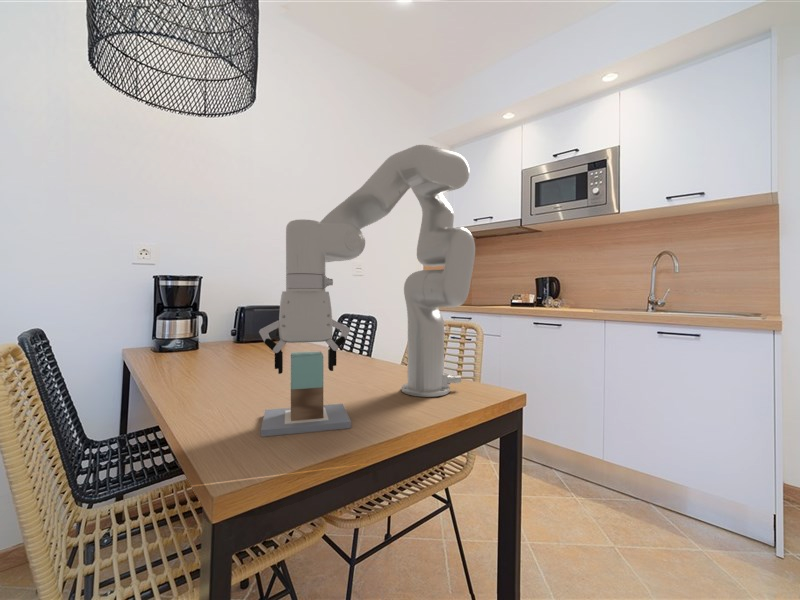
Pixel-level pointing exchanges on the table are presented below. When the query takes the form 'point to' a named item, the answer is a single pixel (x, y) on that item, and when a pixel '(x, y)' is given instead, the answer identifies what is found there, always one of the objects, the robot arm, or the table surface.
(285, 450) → the table surface
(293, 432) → the board
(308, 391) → the walnut block
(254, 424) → the table surface
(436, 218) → the robot arm
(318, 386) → the teal block
